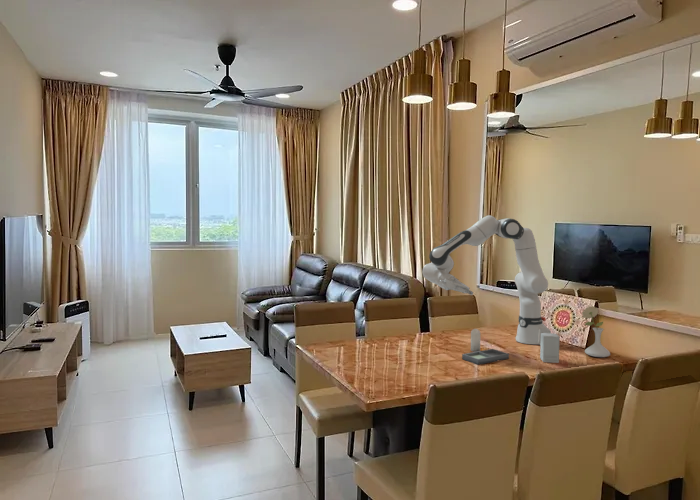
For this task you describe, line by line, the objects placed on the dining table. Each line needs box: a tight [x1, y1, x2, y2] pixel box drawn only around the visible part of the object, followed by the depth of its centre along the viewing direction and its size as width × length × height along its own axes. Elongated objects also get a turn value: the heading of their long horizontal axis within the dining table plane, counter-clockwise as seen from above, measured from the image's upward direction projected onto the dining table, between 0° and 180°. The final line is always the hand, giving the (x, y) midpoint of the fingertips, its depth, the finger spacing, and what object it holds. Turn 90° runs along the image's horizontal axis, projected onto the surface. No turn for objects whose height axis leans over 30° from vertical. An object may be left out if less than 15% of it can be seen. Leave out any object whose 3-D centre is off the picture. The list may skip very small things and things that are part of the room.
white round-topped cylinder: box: [470, 328, 481, 352], centre depth 248 cm, size 5×5×11 cm
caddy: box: [461, 348, 510, 366], centre depth 233 cm, size 20×11×2 cm, turn 120°
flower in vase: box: [581, 305, 611, 358], centre depth 238 cm, size 13×11×25 cm
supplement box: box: [539, 332, 560, 364], centre depth 230 cm, size 7×7×13 cm
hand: (468, 292), depth 252 cm, fingers open, 8 cm apart
